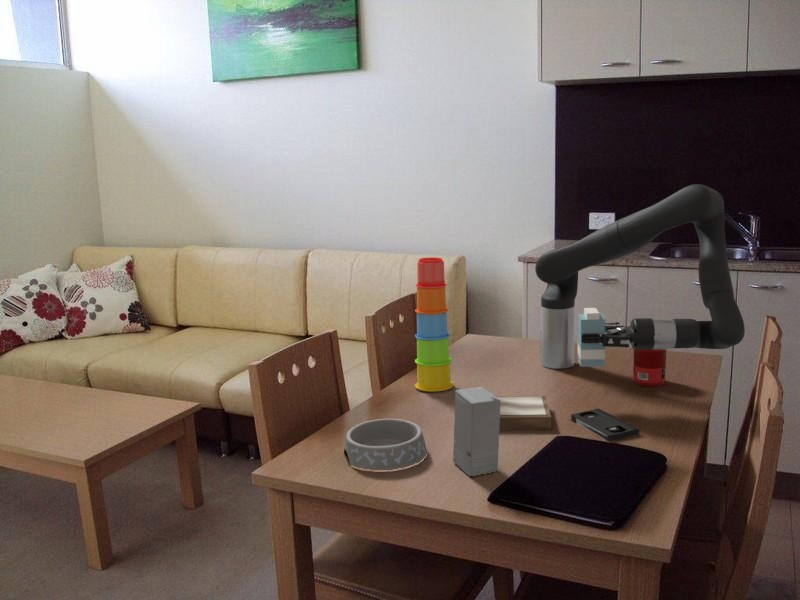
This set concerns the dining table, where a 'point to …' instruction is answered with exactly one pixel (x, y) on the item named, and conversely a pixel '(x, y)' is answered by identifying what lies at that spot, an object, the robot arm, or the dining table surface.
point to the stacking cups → (432, 327)
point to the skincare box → (476, 431)
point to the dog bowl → (385, 444)
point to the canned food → (649, 367)
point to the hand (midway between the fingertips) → (580, 335)
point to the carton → (590, 351)
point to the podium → (524, 413)
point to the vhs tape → (604, 424)
